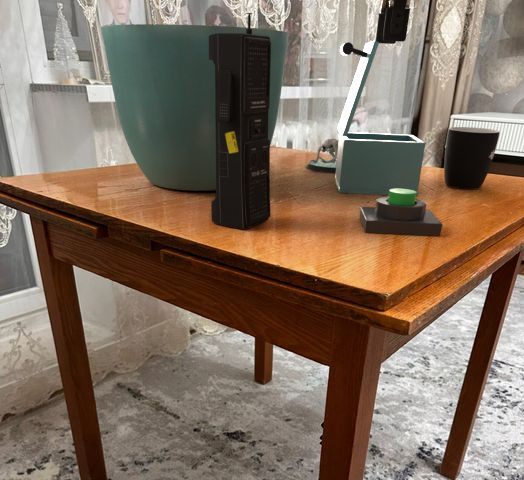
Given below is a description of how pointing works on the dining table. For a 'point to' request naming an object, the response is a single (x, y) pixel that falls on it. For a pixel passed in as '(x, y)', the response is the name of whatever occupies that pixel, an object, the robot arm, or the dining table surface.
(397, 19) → the robot arm
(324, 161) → the figurine
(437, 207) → the dining table surface
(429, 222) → the block
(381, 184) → the teal open box
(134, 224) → the dining table surface
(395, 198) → the button
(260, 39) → the portable radio
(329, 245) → the dining table surface
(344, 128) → the box lid
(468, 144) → the mug
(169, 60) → the flower pot
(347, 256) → the dining table surface
